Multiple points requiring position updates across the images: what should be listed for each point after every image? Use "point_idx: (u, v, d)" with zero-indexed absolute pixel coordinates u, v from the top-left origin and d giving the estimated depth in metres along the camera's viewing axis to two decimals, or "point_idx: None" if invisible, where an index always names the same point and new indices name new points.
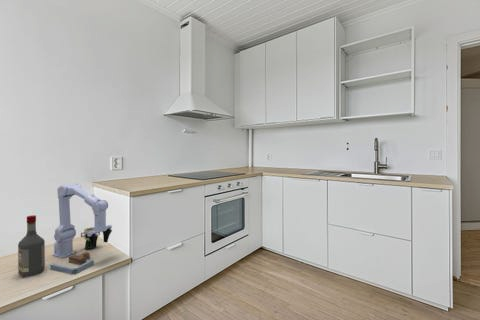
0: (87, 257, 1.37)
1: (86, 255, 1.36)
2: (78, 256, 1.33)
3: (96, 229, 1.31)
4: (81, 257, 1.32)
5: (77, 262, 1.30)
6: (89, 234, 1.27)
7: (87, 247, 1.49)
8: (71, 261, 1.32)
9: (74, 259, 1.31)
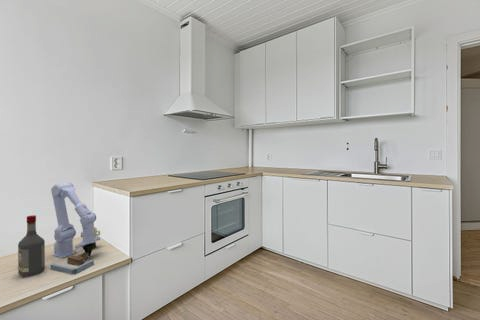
0: (86, 258, 1.36)
1: (85, 256, 1.35)
2: (76, 257, 1.32)
3: (84, 241, 1.36)
4: (80, 258, 1.31)
5: (76, 263, 1.29)
6: (77, 246, 1.32)
7: None
8: (69, 262, 1.31)
9: (73, 260, 1.30)
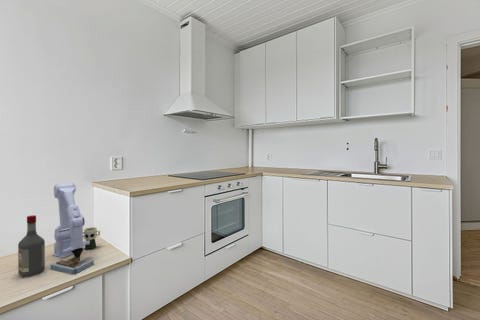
0: (76, 262, 1.30)
1: (75, 260, 1.29)
2: (65, 261, 1.26)
3: (72, 246, 1.29)
4: (69, 262, 1.25)
5: None
6: (64, 252, 1.25)
7: (87, 247, 1.49)
8: None
9: None
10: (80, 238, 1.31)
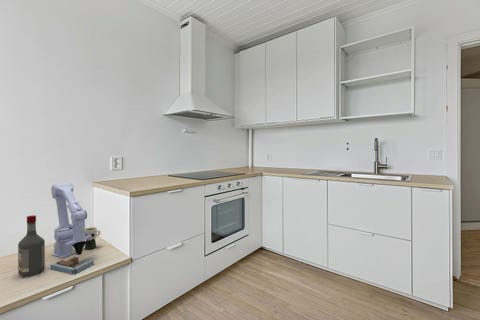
0: (76, 262, 1.30)
1: (75, 260, 1.29)
2: (65, 261, 1.26)
3: (74, 239, 1.30)
4: (69, 263, 1.25)
5: None
6: (67, 245, 1.26)
7: (87, 247, 1.49)
8: None
9: None
10: (82, 232, 1.32)
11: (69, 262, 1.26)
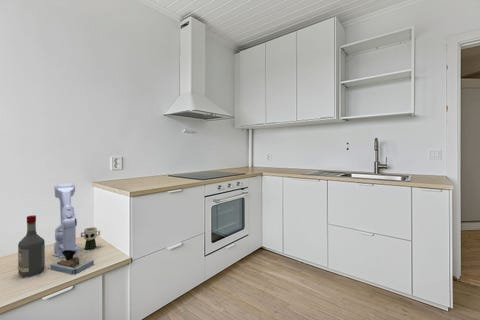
0: (76, 262, 1.30)
1: (75, 260, 1.29)
2: (66, 261, 1.26)
3: (73, 246, 1.29)
4: (70, 263, 1.25)
5: None
6: (79, 249, 1.28)
7: (87, 247, 1.49)
8: None
9: None
10: None
11: (70, 262, 1.25)
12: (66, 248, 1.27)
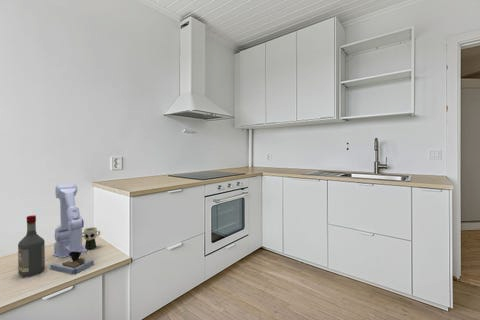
0: None
1: (81, 261, 1.28)
2: (72, 262, 1.25)
3: (80, 247, 1.28)
4: (75, 264, 1.24)
5: None
6: (86, 251, 1.27)
7: (87, 247, 1.49)
8: None
9: (68, 266, 1.23)
10: None
11: (75, 263, 1.24)
12: (72, 249, 1.26)
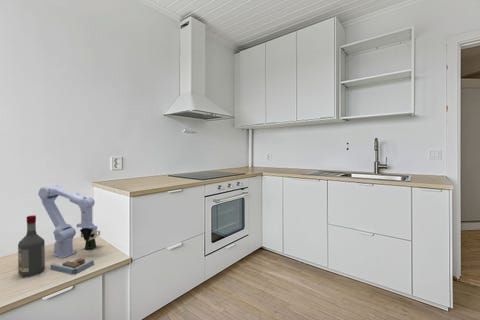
0: None
1: (81, 261, 1.28)
2: (72, 263, 1.25)
3: (90, 224, 1.40)
4: (75, 264, 1.24)
5: None
6: (96, 227, 1.39)
7: (87, 247, 1.49)
8: None
9: (68, 266, 1.23)
10: None
11: (75, 263, 1.24)
12: (84, 226, 1.38)
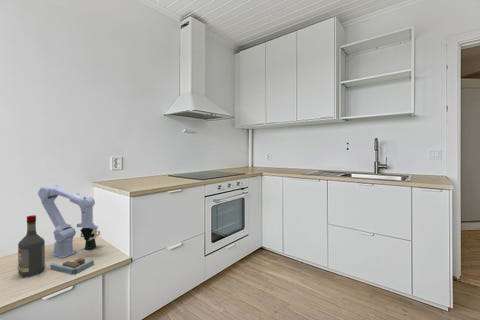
0: None
1: (81, 261, 1.28)
2: (72, 263, 1.25)
3: (91, 224, 1.40)
4: (75, 264, 1.24)
5: None
6: (96, 227, 1.39)
7: (87, 247, 1.49)
8: None
9: (68, 266, 1.23)
10: None
11: (75, 263, 1.24)
12: (84, 226, 1.38)
